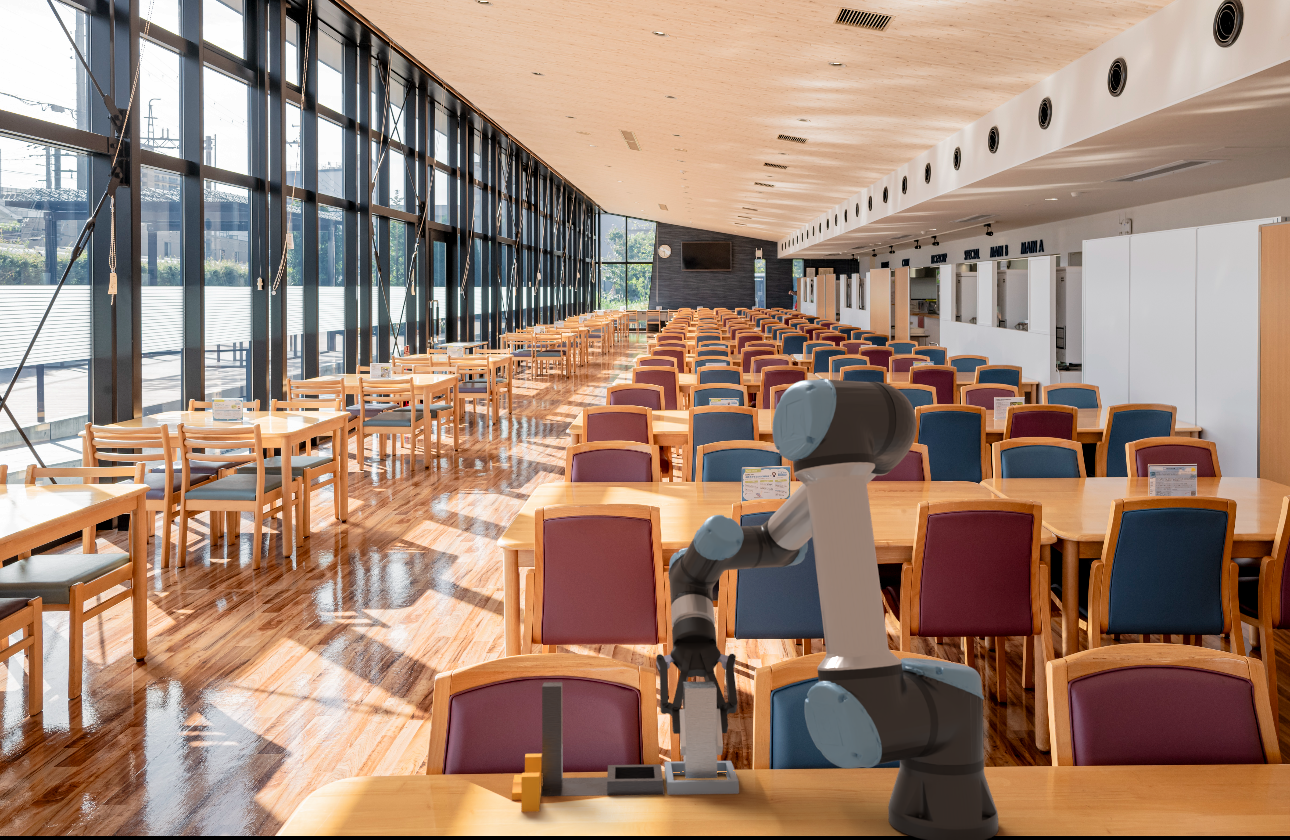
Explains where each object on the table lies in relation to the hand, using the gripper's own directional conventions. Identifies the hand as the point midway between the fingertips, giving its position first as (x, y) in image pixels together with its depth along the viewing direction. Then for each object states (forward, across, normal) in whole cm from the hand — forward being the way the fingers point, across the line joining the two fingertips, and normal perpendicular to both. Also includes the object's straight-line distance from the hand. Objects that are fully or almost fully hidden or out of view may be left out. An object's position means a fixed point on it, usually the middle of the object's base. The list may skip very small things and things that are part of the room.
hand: (701, 750), depth 158 cm
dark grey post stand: (+3, +16, -7) cm, 17 cm away
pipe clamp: (+7, +27, -4) cm, 28 cm away
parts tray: (+3, 0, -8) cm, 8 cm away
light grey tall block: (+1, 0, -6) cm, 6 cm away
